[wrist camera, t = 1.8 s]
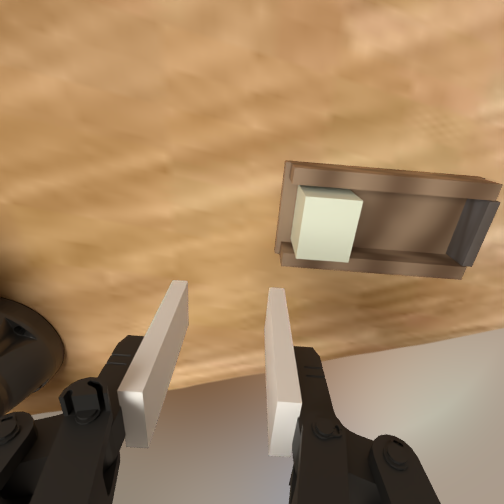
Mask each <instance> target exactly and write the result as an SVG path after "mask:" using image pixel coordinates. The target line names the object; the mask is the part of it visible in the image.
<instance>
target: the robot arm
mask: <svg viewBox="0 0 504 504" xmlns="http://www.w3.org/2000/svg"><path fill="white" fill-rule="evenodd" d="M188 324H189V323H188V281H180V280H172V282H171V284H170V286H169V288H168V290H167V292H166V294H165V296H164V298H163V300H162V302H161V304H160V306H159V308H158V310H157V312H156V314H155V316H154V318H153V320H152V322H151V324H150V326H149V328H148V330H147V332H146V334H145V336H132V335H128V336H127V337H125V338H124V339H123V340H122V341H121V342H119V343H118V344H117V346H116V348H115V349H114V351H113V353H112V356H110V358H109V359H108V361H107V364H105V366H104V368H103V369H102V371H101V373H100V374H99V376H98V378H94V377H89V378H84V379H80V380H78V381H76V382H74V383H72V384H71V385H69V386H68V387H67V388H66V389H65V390H64V391H63V392H62V393H61V395H60V396H59V401H60V404H61V407H62V411H63V414H60V415H57V416H53V417H49V418H44V419H39V420H34V419H33V418H32V416H31V415H30V414H29V413H26V412H13V413H10V414H7V415H5V414H6V413H7V412H8V411H10V410H11V409H13V408H14V407H15V406H17V405H18V404H19V403H20V402H22V401H23V400H24V399H25V398H26V397H28V396H29V395H30V394H31V393H33V392H36V391H37V390H39V389H41V388H42V387H43V386H45V385H46V384H47V383H48V382H49V381H50V380H51V379H52V377H53V376H54V375H55V373H56V372H57V371H58V369H59V368H60V367H61V365H62V362H63V358H64V350H63V346H62V342H61V340H60V338H59V336H58V334H57V333H56V331H55V330H54V329H53V327H52V326H51V325H50V324H49V323H48V322H47V321H46V320H45V319H44V318H42V317H41V316H40V315H39V314H37V313H36V312H34V311H33V310H31V309H29V308H27V307H26V306H24V305H21V304H19V303H17V302H14V301H11V300H7V299H4V298H0V504H112V501H113V496H114V491H115V486H116V481H117V475H118V470H119V465H120V452H119V450H120V448H121V446H122V443H123V441H124V438H125V441H126V446H127V447H137V448H149V446H150V442H151V439H152V436H153V433H154V430H155V427H156V424H157V421H158V418H159V414H160V411H161V408H162V405H163V402H164V399H165V396H166V393H167V390H168V387H169V383H170V380H171V377H172V374H173V371H174V368H175V365H176V362H177V359H178V356H179V352H180V349H181V346H182V343H183V340H184V337H185V334H186V331H187V328H188ZM264 336H265V366H266V391H267V392H266V393H267V423H268V453H269V456H279V457H291V452H292V451H293V461H294V465H293V470H292V474H291V478H290V482H289V485H290V486H291V487H290V497H289V504H441V503H440V502H439V499H438V497H437V495H436V493H435V491H434V489H433V487H432V485H431V483H430V481H429V479H428V477H427V475H426V473H425V471H424V469H423V467H422V465H421V463H420V461H419V459H418V457H417V455H416V454H415V453H414V451H413V450H412V448H411V447H410V446H409V445H407V444H406V443H405V442H404V441H403V440H401V439H399V438H397V437H395V436H391V435H380V436H378V437H377V438H376V439H375V440H374V441H372V440H370V439H367V438H365V437H362V436H359V435H357V434H355V433H353V432H351V431H349V430H348V429H347V428H345V427H344V426H343V425H342V424H341V422H340V421H339V419H338V418H337V417H336V415H335V413H334V410H333V406H332V403H331V399H330V395H329V391H328V387H327V383H326V379H325V375H324V372H323V369H322V368H323V367H322V363H321V360H320V357H319V355H318V354H317V353H316V351H315V350H314V349H313V347H298V346H293V341H292V334H291V328H290V322H289V315H288V309H287V302H286V296H285V290H284V288H273V287H269V295H268V303H267V311H266V320H265V328H264Z"/></svg>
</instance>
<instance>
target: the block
mask: <svg viewBox="0 0 504 504" xmlns="http://www.w3.org/2000/svg"><path fill="white" fill-rule="evenodd" d="M362 205H363V200H362V199H360V198H359V197H358V196H357V195H356V194H354V193H353V192H352V191H351V190H350V189H344V188H332V187H320V186H307V185H298V190H297V197H296V204H295V211H294V218H293V225H292V232H291V242H292V245H293V249H294V253H295V257H296V259H308V260H321V261H334V262H347V263H348V262H349V258H350V254H351V250H352V246H353V242H354V237H355V233H356V229H357V225H358V221H359V217H360V213H361V209H362Z"/></svg>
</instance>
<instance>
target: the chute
mask: <svg viewBox="0 0 504 504" xmlns="http://www.w3.org/2000/svg"><path fill="white" fill-rule="evenodd" d="M298 185H307V186H320V187H332V188H344V189H350V190H351V191H352V192H353V193H354V194H356V195H357V196H358V197H359V198H360V199H362V200H363V205H362V209H361V213H360V217H359V221H358V225H357V229H356V233H355V237H354V242H353V246H352V250H351V254H350V258H349V262H348V263H347V262H334V261H321V260H308V259H296V257H295V253H294V249H293V245H292V242H291V232H292V225H293V218H294V211H295V204H296V197H297V190H298ZM501 188H502V184H498V183H495V182H492V181H488V180H485V178H482V177H478V176H466V175H454V174H442V173H430V172H418V171H406V170H394V169H381V168H369V167H357V166H345V165H333V164H321V163H309V162H297V161H285V167H284V175H283V183H282V192H281V200H280V208H279V216H278V225H277V233H276V241H275V249H274V250H275V253H278V254H279V255H280V261H281V266H287V267H301V268H314V269H327V270H340V271H353V272H366V273H379V274H393V275H406V276H419V277H432V278H445V279H458V280H461V279H462V277H463V274H464V272H465V270H466V268H467V267H466V266H470V267H472V265H473V263H474V261H475V258H476V256H477V254H478V252H479V250H480V247H481V245H482V243H483V241H484V238H485V236H486V234H487V232H488V229H489V227H490V225H491V223H492V220H493V218H494V216H495V214H496V211H497V209H498V207H499V205H500V202H498V201H496V199H497V197H498V195H499V192H500V190H501Z"/></svg>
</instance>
